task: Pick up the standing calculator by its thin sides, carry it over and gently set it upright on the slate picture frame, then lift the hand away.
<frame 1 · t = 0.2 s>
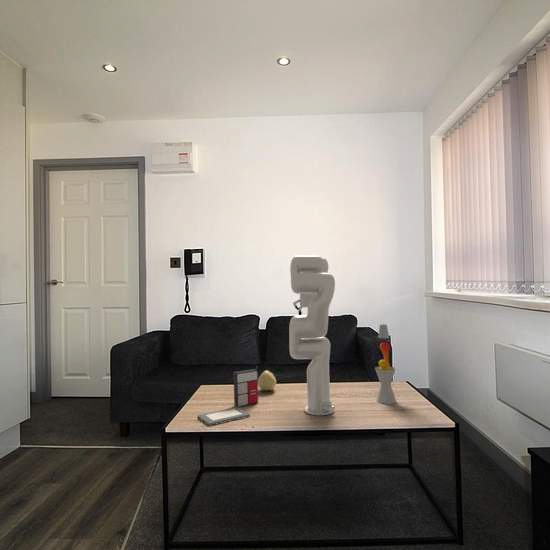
hand: (310, 318, 191), 37 cm above the table, tool pointing down, fingers open, 9 cm apart
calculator: (246, 404, 169), on the table
slate picture frame: (223, 417, 152), on the table
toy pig: (267, 391, 192), on the table
lava lamp: (386, 401, 168), on the table
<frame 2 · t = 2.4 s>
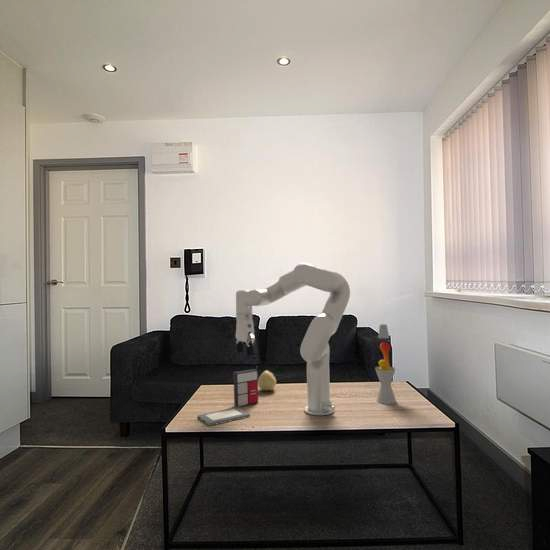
hand: (244, 353, 171), 23 cm above the table, tool pointing down, fingers open, 9 cm apart
nothing on the table moved.
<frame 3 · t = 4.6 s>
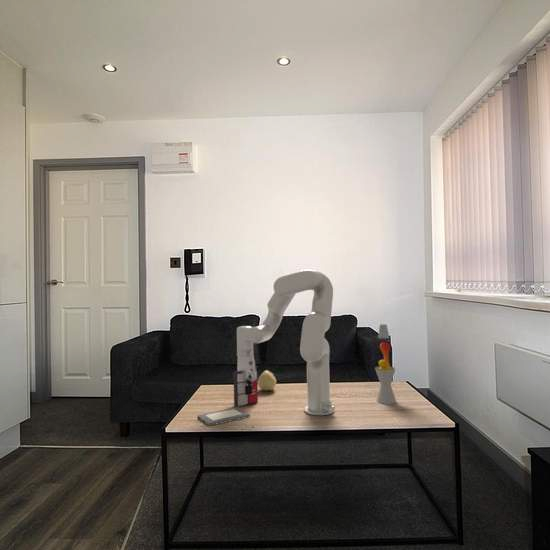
hand: (246, 392, 170), 5 cm above the table, tool pointing down, fingers closed on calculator, 3 cm apart
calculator: (246, 404, 170), on the table, touching gripper
everything else where it was.
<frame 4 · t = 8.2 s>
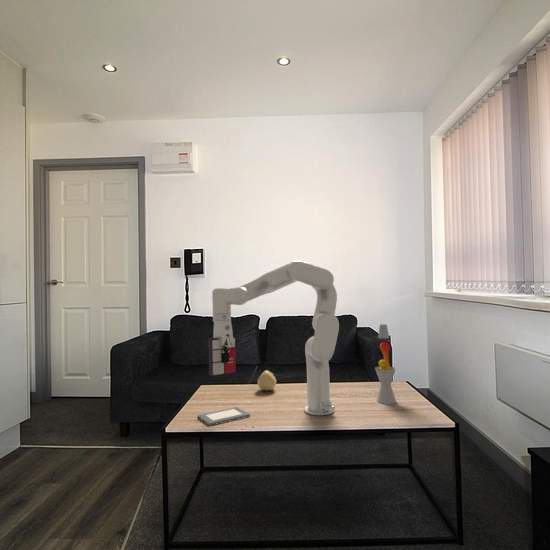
hand: (223, 361, 153), 23 cm above the table, tool pointing down, fingers closed on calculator, 3 cm apart
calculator: (222, 374, 154), point 17 cm above the table, touching gripper
everything else where it was.
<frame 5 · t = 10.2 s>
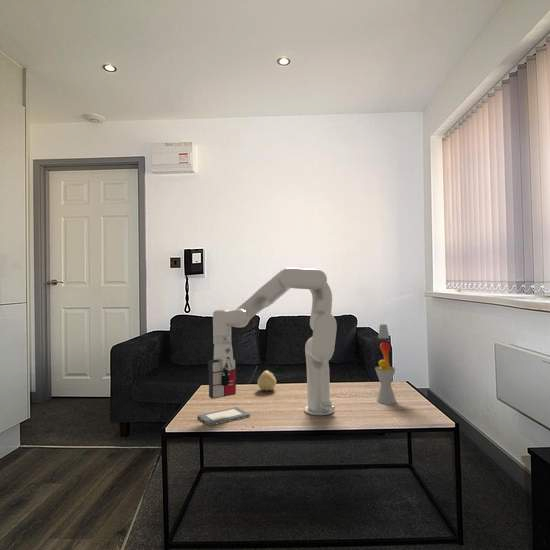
hand: (223, 383, 153), 14 cm above the table, tool pointing down, fingers closed on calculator, 3 cm apart
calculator: (222, 396, 153), point 8 cm above the table, touching gripper
everything else where it was.
when the fingers open (7 cm above the table, at t = 12.1 s): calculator stays where it is, point 1 cm above the table.
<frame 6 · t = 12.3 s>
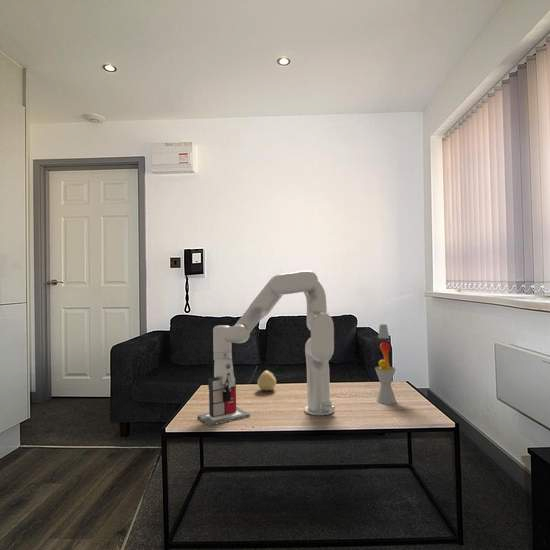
hand: (223, 398, 153), 7 cm above the table, tool pointing down, fingers open, 5 cm apart
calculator: (223, 414, 153), point 1 cm above the table, touching gripper
everything else where it was.
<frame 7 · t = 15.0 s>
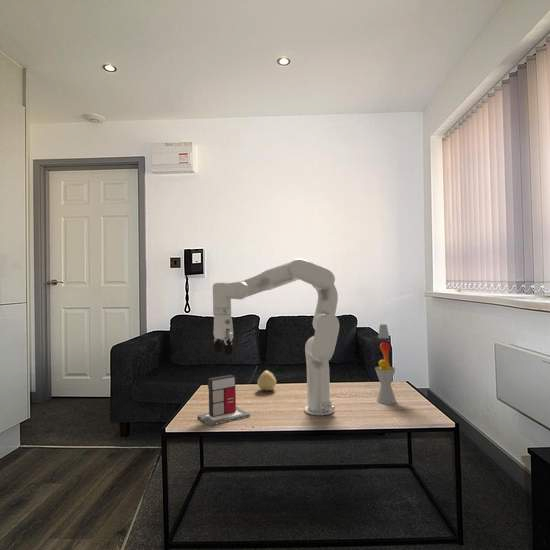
hand: (223, 353, 154), 26 cm above the table, tool pointing down, fingers open, 9 cm apart
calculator: (222, 414, 153), point 1 cm above the table, touching slate picture frame
everything else where it was.
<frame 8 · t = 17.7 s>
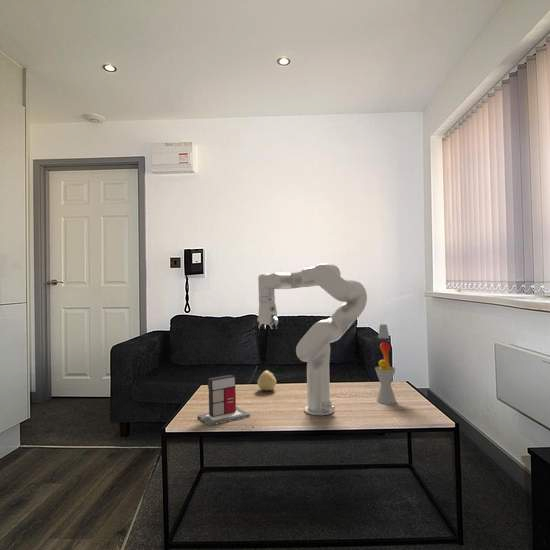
hand: (267, 336, 173), 30 cm above the table, tool pointing down, fingers open, 9 cm apart
nothing on the table moved.
at the end: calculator inside the target area on the slate picture frame (1.2 cm from its centre), point 0.9 cm above the slate picture frame's base; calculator tilted 0°; the gripper is holding nothing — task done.
